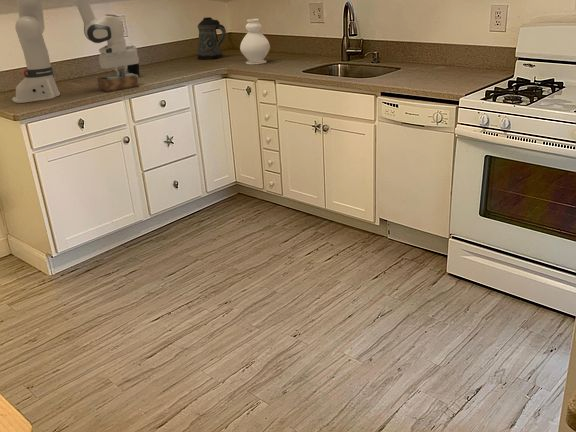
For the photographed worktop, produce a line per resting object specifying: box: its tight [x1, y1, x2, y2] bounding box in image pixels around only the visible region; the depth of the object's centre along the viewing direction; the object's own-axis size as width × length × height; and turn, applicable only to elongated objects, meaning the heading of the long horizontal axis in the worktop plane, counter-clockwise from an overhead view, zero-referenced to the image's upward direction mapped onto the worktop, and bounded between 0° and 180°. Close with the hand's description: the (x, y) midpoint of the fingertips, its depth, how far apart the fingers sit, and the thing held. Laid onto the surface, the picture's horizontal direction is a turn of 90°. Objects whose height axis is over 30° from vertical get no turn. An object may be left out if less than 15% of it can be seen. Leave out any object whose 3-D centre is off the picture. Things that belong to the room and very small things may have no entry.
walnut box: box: [96, 72, 139, 93], centre depth 307 cm, size 17×11×6 cm, turn 128°
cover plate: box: [106, 69, 139, 80], centre depth 307 cm, size 14×8×4 cm, turn 128°
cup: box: [127, 62, 141, 78], centre depth 334 cm, size 8×8×12 cm
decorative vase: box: [239, 18, 271, 65], centre depth 355 cm, size 18×18×25 cm
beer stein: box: [196, 16, 227, 61], centre depth 382 cm, size 16×19×25 cm
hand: (121, 75), depth 307 cm, fingers closed on cover plate, 2 cm apart
